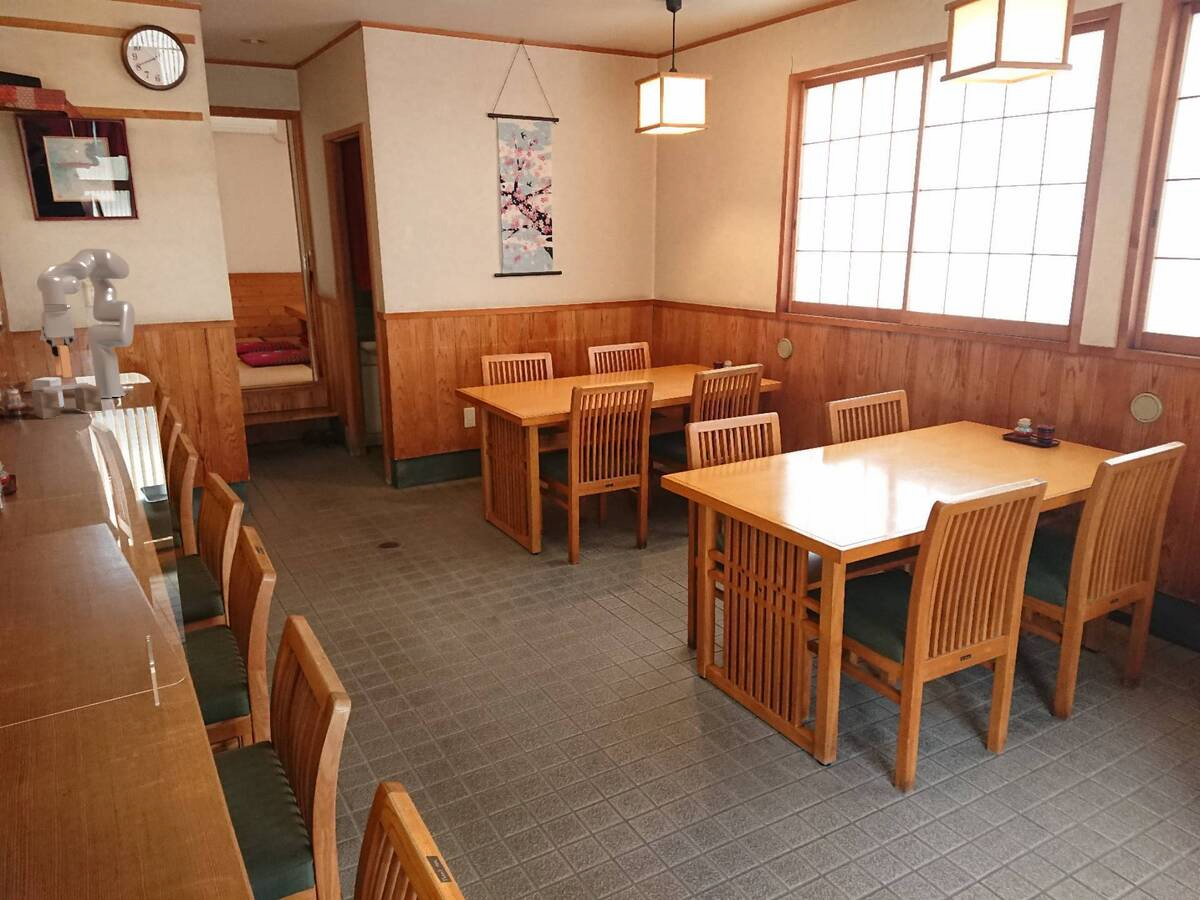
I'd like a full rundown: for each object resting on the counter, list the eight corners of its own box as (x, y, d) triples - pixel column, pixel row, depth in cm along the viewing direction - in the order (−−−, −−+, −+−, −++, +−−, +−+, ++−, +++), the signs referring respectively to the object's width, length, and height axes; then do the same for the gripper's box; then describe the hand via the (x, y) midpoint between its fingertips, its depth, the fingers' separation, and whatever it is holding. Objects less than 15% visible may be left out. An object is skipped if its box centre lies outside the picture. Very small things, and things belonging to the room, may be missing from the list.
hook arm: (86, 386, 338) (86, 382, 338) (88, 386, 337) (88, 383, 337) (42, 390, 326) (41, 387, 326) (43, 391, 325) (43, 387, 325)
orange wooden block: (64, 374, 334) (60, 344, 331) (72, 376, 329) (68, 346, 326) (55, 374, 332) (51, 344, 329) (63, 377, 327) (59, 346, 324)
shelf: (92, 408, 345) (89, 384, 343) (102, 411, 339) (99, 387, 337) (34, 415, 330) (31, 390, 327) (43, 419, 323) (40, 393, 321)
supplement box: (53, 411, 338) (49, 380, 335) (35, 410, 338) (31, 379, 335) (65, 407, 345) (61, 377, 342) (47, 406, 345) (43, 376, 342)
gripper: (74, 307, 332) (80, 353, 337) (27, 308, 320) (34, 356, 325) (82, 308, 328) (87, 355, 332) (34, 310, 315) (41, 358, 320)
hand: (61, 355), depth 328 cm, fingers closed on orange wooden block, 3 cm apart
